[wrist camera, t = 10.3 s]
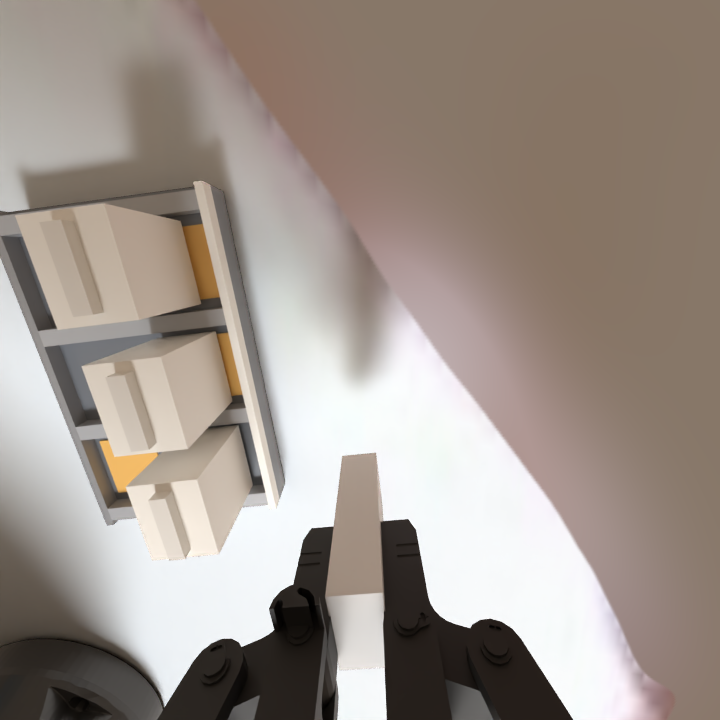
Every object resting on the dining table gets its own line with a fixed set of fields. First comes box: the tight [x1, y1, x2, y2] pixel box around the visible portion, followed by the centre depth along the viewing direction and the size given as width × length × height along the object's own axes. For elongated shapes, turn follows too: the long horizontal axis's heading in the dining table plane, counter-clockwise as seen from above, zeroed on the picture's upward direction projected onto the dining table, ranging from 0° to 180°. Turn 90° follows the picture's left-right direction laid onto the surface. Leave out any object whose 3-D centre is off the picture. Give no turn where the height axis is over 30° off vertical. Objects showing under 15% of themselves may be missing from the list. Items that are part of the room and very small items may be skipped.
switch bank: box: [0, 181, 285, 525], centre depth 18 cm, size 10×17×2 cm, turn 7°
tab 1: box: [15, 203, 201, 330], centre depth 14 cm, size 3×4×5 cm
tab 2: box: [81, 331, 232, 457], centre depth 15 cm, size 3×4×5 cm
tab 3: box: [126, 425, 253, 560], centre depth 16 cm, size 3×4×5 cm
